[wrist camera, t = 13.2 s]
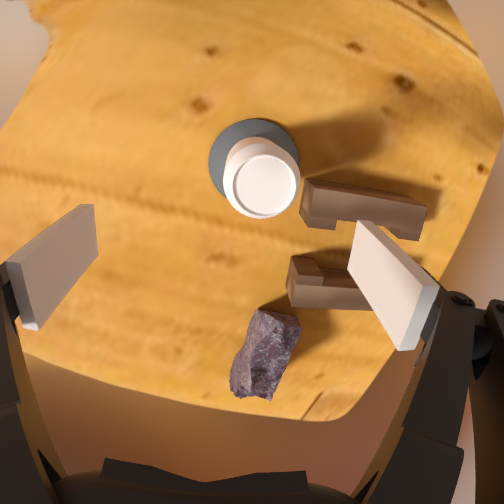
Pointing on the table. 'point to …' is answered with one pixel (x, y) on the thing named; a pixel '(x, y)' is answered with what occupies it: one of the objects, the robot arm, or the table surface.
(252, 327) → the stone
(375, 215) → the notched wooden bars
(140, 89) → the table surface
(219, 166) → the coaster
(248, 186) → the beverage can
